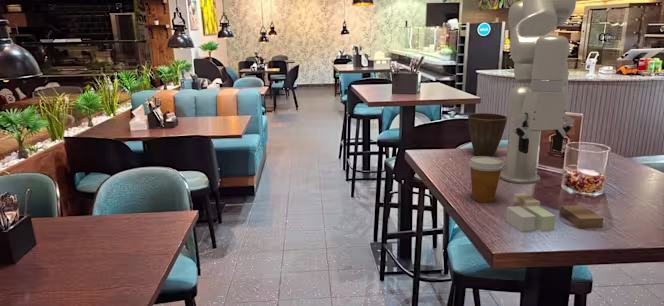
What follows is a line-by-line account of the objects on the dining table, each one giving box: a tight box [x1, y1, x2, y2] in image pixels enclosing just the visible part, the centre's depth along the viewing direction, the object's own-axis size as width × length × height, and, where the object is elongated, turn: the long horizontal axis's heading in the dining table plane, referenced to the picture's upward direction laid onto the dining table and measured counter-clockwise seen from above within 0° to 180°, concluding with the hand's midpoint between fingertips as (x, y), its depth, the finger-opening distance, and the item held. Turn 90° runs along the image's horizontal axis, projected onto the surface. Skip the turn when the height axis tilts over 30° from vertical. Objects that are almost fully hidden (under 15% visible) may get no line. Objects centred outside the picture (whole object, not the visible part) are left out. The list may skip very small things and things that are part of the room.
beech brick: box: [512, 192, 541, 210], centre depth 123 cm, size 7×4×4 cm, turn 9°
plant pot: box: [467, 112, 508, 157], centre depth 180 cm, size 15×15×16 cm
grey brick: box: [505, 206, 536, 233], centre depth 113 cm, size 7×4×4 cm, turn 11°
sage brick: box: [526, 206, 556, 232], centre depth 114 cm, size 7×4×4 cm, turn 11°
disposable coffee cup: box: [468, 156, 504, 203], centre depth 132 cm, size 10×10×12 cm
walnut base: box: [559, 204, 605, 230], centre depth 116 cm, size 9×6×3 cm, turn 2°
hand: (539, 151), depth 118 cm, fingers open, 9 cm apart
